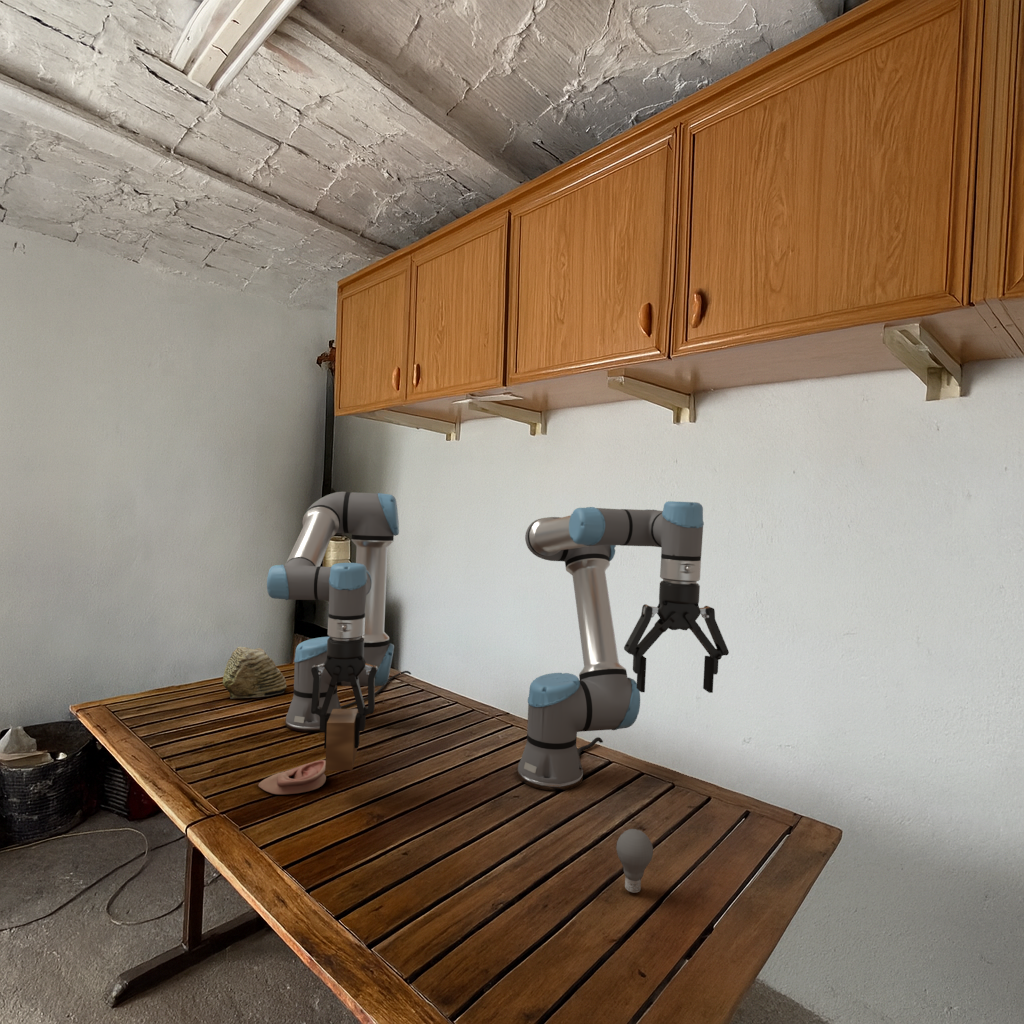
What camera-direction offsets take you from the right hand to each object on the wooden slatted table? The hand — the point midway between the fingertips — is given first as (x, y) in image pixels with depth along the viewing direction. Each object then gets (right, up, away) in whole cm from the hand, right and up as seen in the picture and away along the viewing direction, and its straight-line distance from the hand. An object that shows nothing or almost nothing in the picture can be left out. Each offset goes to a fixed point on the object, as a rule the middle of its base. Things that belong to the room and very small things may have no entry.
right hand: (674, 690), depth 123 cm
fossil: (-112, -23, +75) cm, 137 cm away
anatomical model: (-80, -25, +16) cm, 85 cm away
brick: (-68, -18, +11) cm, 71 cm away
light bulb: (-11, -29, -17) cm, 35 cm away
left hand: (-68, -15, +11) cm, 70 cm away
